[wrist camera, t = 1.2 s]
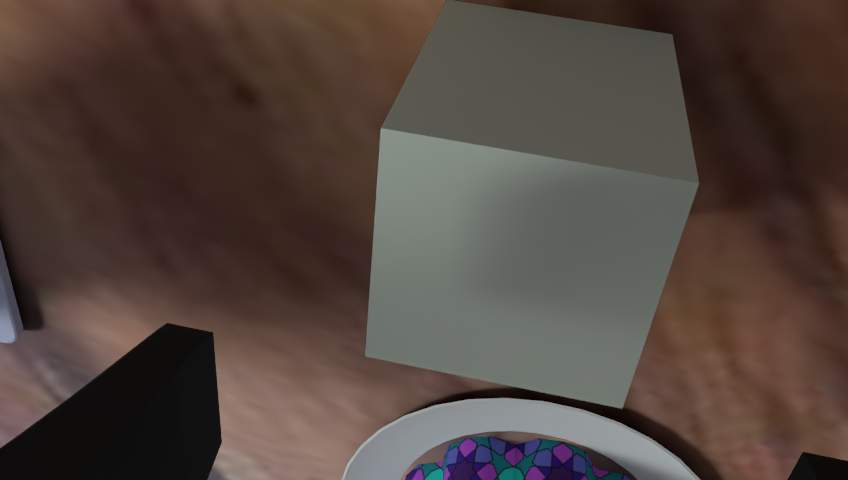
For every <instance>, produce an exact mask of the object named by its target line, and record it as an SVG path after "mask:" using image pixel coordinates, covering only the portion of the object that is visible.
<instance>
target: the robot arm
mask: <svg viewBox="0 0 848 480" xmlns="http://www.w3.org/2000/svg"><path fill="white" fill-rule="evenodd" d="M22 333H23V325H22V321H21V317H20V314H19V310H18V306H17V302H16V298H15V295H14V291H13V287H12V283H11V279H10V275H9V272H8V268H7V264H6V260H5V256H4V252H3V249H2V245H1V241H0V342H3V343H12V342H15V341H16V340H17V339H18V338H19V337H20V335H21V334H22ZM221 443H222V439H221V427H220V414H219V402H218V389H217V376H216V364H215V351H214V339H213V332H208V331H203V330H198V329H193V328H188V327H183V326H179V325H174V324H169V323H167V324H165V325H164V326H162V327H161V328H159V329H158V330H157V331H155V332H154V333H153V334H151V335H150V336H149V337H147V338H146V339H145V340H143V341H142V342H141V343H140V344H138V345H137V346H136V347H134V348H133V349H132V350H131V351H129V352H128V353H127V354H125V355H124V356H123V357H122V358H120V359H119V360H118V361H116V362H115V363H114V364H113V365H111V366H110V367H109V368H107V369H106V370H105V371H104V372H102V373H101V374H100V375H98V376H97V377H96V378H95V379H93V380H92V381H91V382H89V383H88V384H87V385H85V386H84V387H83V388H81V389H80V390H79V391H78V392H76V393H75V394H74V395H72V396H71V397H70V398H68V399H67V400H66V401H64V402H63V403H62V404H60V405H59V406H58V407H56V408H55V409H53V410H52V411H51V412H49V413H48V414H47V415H45V416H44V417H43V418H41V419H40V420H39V421H37V422H36V423H35V424H33V425H32V426H30V427H29V428H28V429H26V430H25V431H24V432H22V433H21V434H20V435H18V436H17V437H16V438H14V439H13V440H11V441H10V442H9V443H7V444H6V445H4V446H3V447H1V448H0V480H207V479H208V476H209V474H210V471H211V468H212V466H213V463H214V461H215V458H216V455H217V453H218V450H219V448H220V445H221ZM788 480H848V461H845V460H840V459H835V458H830V457H825V456H820V455H815V454H810V453H805V452H803V453H802V455H801V456H800V458H799V460H798V462H797V464H796V465H795V467H794V469H793V471H792V473H791V474H790V476H789V478H788Z"/></svg>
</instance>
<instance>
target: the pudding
mask: <svg viewBox="0 0 848 480" xmlns="http://www.w3.org/2000/svg"><path fill="white" fill-rule="evenodd" d="M490 431H520V432H530V433H540V434H544V435H549V436H553V437H558V438H562V439H566V440H569V441H572V442H575V443H577V444H580V445H583V446H586V447H589V448H591V449H593V450H595V451H597V452H599V453H601V454H603V455H604V456H606V457H608V458H610V459H612V460H613V461H615V462H616V463H618V464H619V465H620V466H622V467H623V468H625V469H626V470H628V471H629V472H630V473H631V474H632V475H633V476H634V477H635V478H636V479H637V480H700V479H699V478H698V477H697V476H696V475H695V474H694V473H693V472H692V471H691V470H690V469H689V467H688V466H687V465H686V464H685V463H684V462H683V461H682V460H681V459H679V458H678V457H677V456H675V455H674V454H672V453H671V452H670V451H668V450H667V449H665V448H664V447H663V446H661V445H660V444H658V443H657V442H656V441H654V440H653V439H651V438H649V437H647V436H645V435H643V434H641V433H639V432H637V431H635V430H633V429H631V428H629V427H627V426H626V425H624V424H622V423H620V422H617V421H614V420H611V419H608V418H606V417H603V416H600V415H597V414H594V413H591V412H588V411H586V410H583V409H578V408H573V407H569V406H564V405H559V404H555V403H550V402H546V401H536V400H525V399H513V398H489V399H467V400H462V401H456V402H450V403H445V404H439V405H434V406H431V407H428V408H425V409H422V410H419V411H416V412H413V413H410V414H407V415H405V416H403V417H401V418H399V419H397V420H395V421H394V422H392V423H390V424H388V425H386V426H385V427H383V428H381V429H379V430H378V431H377V432H376V433H375V434H374V435H372V436H371V437H370V438H369V439H368V440H367V441H365V442H364V443H363V444H362V445H361V446H360V447H359V449H358V450H357V451H356V453H355V454H354V456H353V457H352V458H351V460H350V461H349V462H348V464H347V466H346V469H345V472H344V475H343V477H342V480H401V478H402V476H403V474H404V473H405V471H406V470H407V469H408V468H409V466H410V465H411V464H412V463H413V461H415V460H416V459H417V458H418V457H420V456H421V455H422V454H424V453H425V452H426V451H427V450H429V449H431V448H433V447H435V446H437V445H439V444H441V443H443V442H445V441H448V440H452V439H455V438H458V437H461V436H464V435H470V434H476V433H482V432H490ZM405 480H630V479H629V478H628V477H627V476H625V475H624V474H619V473H614V472H609V471H603V470H598V469H596V467H595V466H594V464H593V463H592V461H591V460H590V458H589V457H588V455H587V454H586V452H585V451H583V450H580V449H578V448H576V447H574V446H572V445H569V444H567V443H565V442H561V441H554V440H547V439H539V438H538V439H535V440H532V441H529V442H526V443H523V444H520V445H517V446H514V445H511V444H509V443H506V442H503V441H501V440H498V439H496V438H493V437H475V438H466V439H464V440H461V441H459V442H457V443H454V444H452V445H450V446H448V449H447V451H446V453H445V456H444V458H443V461H442V462H438V463H429V464H420V465H418V466H416V467H415V468H414V469H413V470H412V471H411V472H410V473H409V474H407V475H406V479H405Z"/></svg>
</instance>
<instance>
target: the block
mask: <svg viewBox="0 0 848 480" xmlns="http://www.w3.org/2000/svg"><path fill="white" fill-rule="evenodd" d="M698 185H699V179H698V174H697V168H696V162H695V157H694V151H693V146H692V140H691V135H690V129H689V124H688V118H687V113H686V107H685V102H684V96H683V91H682V85H681V80H680V74H679V68H678V63H677V57H676V52H675V46H674V41H673V35H672V34H667V33H660V32H654V31H647V30H641V29H635V28H628V27H622V26H615V25H609V24H603V23H596V22H590V21H583V20H577V19H570V18H564V17H558V16H551V15H545V14H538V13H532V12H525V11H519V10H513V9H506V8H500V7H493V6H487V5H480V4H474V3H468V2H461V1H455V0H447V1H446V3H445V5H444V7H443V8H442V10H441V12H440V14H439V16H438V18H437V20H436V22H435V24H434V26H433V28H432V30H431V32H430V34H429V36H428V38H427V39H426V41H425V43H424V45H423V47H422V49H421V51H420V53H419V55H418V57H417V59H416V61H415V63H414V65H413V67H412V69H411V70H410V72H409V74H408V76H407V78H406V80H405V82H404V84H403V86H402V88H401V90H400V92H399V94H398V96H397V98H396V100H395V101H394V103H393V105H392V107H391V109H390V111H389V113H388V115H387V117H386V119H385V121H384V123H383V125H382V127H381V132H380V147H379V161H378V176H377V190H376V205H375V219H374V234H373V248H372V263H371V277H370V292H369V306H368V321H367V335H366V350H365V357H370V358H375V359H380V360H385V361H390V362H395V363H399V364H404V365H409V366H414V367H419V368H424V369H429V370H434V371H439V372H444V373H449V374H454V375H459V376H464V377H468V378H473V379H478V380H483V381H488V382H493V383H498V384H503V385H508V386H513V387H518V388H523V389H528V390H533V391H537V392H542V393H547V394H552V395H557V396H562V397H567V398H572V399H577V400H582V401H587V402H592V403H597V404H602V405H606V406H611V407H616V408H621V409H622V408H623V405H624V402H625V399H626V396H627V393H628V391H629V388H630V385H631V382H632V379H633V376H634V373H635V370H636V367H637V364H638V361H639V358H640V355H641V352H642V350H643V347H644V344H645V341H646V338H647V335H648V332H649V329H650V326H651V323H652V320H653V317H654V314H655V311H656V309H657V306H658V303H659V300H660V297H661V294H662V291H663V288H664V285H665V282H666V279H667V276H668V273H669V270H670V268H671V265H672V262H673V259H674V256H675V253H676V250H677V247H678V244H679V241H680V238H681V235H682V232H683V229H684V226H685V224H686V221H687V218H688V215H689V212H690V209H691V206H692V203H693V200H694V197H695V194H696V191H697V188H698Z"/></svg>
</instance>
